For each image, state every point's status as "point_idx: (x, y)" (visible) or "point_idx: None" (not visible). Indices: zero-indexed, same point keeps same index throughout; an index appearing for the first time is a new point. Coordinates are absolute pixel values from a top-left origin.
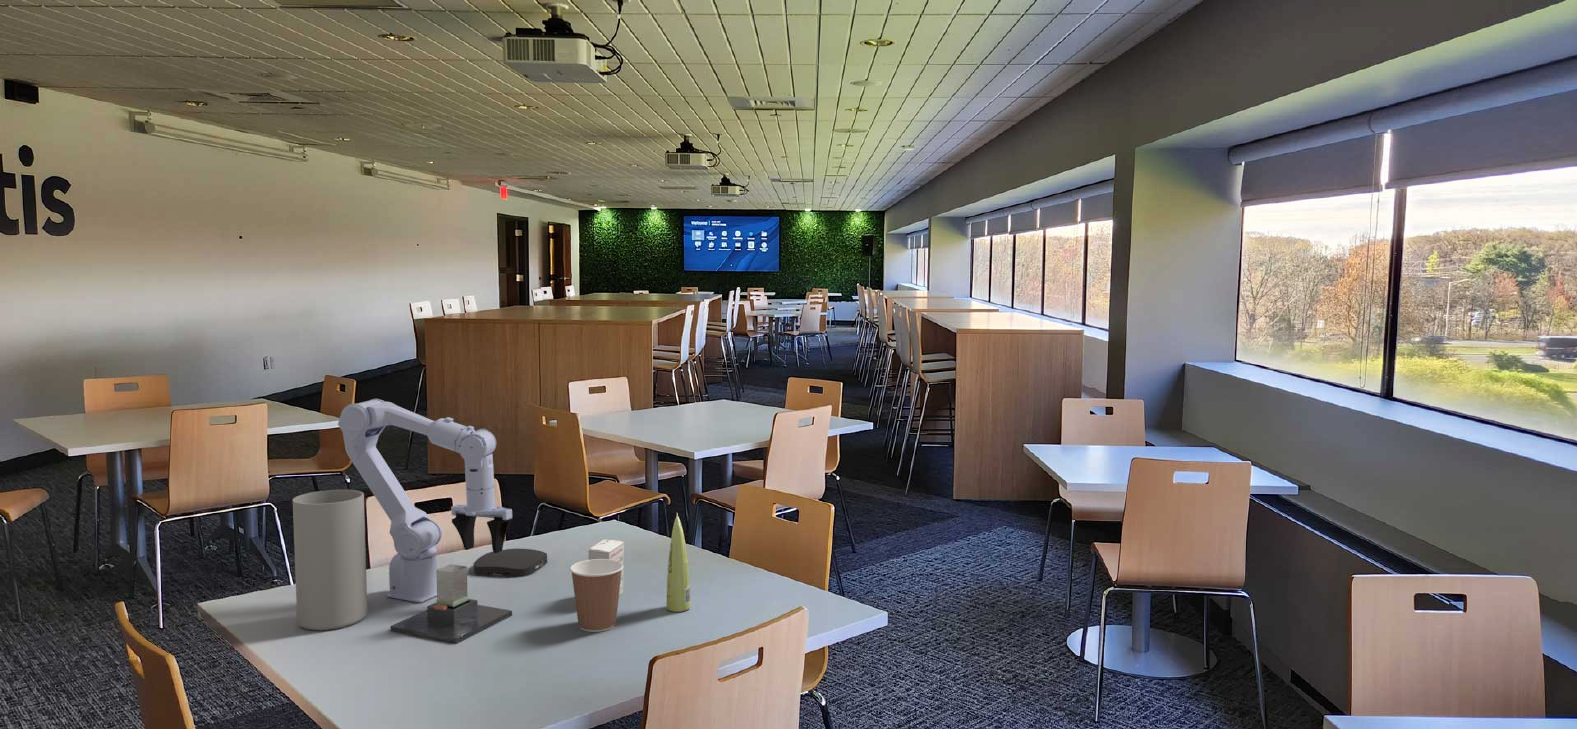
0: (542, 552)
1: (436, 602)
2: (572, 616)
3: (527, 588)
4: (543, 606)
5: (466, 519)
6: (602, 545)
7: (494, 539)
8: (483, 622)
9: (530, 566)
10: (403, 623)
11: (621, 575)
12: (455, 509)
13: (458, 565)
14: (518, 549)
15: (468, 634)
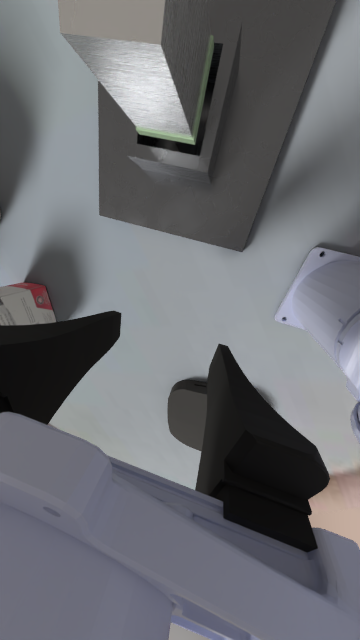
0: (180, 440)
1: (213, 44)
2: (30, 234)
3: (149, 339)
4: (88, 269)
5: (217, 465)
6: None
7: (74, 321)
8: (106, 120)
9: (169, 396)
10: (311, 8)
11: None
12: (344, 631)
13: (108, 33)
14: None
15: None
